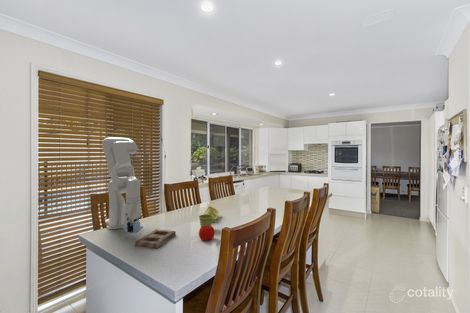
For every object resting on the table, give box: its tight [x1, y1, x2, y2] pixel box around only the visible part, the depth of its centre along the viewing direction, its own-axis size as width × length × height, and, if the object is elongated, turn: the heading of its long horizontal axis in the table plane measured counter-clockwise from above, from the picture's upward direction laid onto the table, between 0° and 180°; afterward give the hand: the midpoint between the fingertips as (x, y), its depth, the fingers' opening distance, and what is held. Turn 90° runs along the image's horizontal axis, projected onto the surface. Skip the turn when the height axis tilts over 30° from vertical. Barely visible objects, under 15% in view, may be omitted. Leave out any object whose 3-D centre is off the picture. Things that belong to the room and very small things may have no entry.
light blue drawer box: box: [121, 221, 144, 234], centre depth 137 cm, size 11×4×6 cm, turn 77°
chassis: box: [134, 229, 177, 250], centre depth 133 cm, size 13×20×3 cm, turn 167°
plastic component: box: [203, 205, 219, 223], centre depth 176 cm, size 20×7×10 cm
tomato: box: [198, 225, 216, 242], centre depth 135 cm, size 9×9×8 cm
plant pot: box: [198, 213, 213, 228], centre depth 152 cm, size 9×9×9 cm
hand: (132, 230), depth 137 cm, fingers closed on light blue drawer box, 4 cm apart
